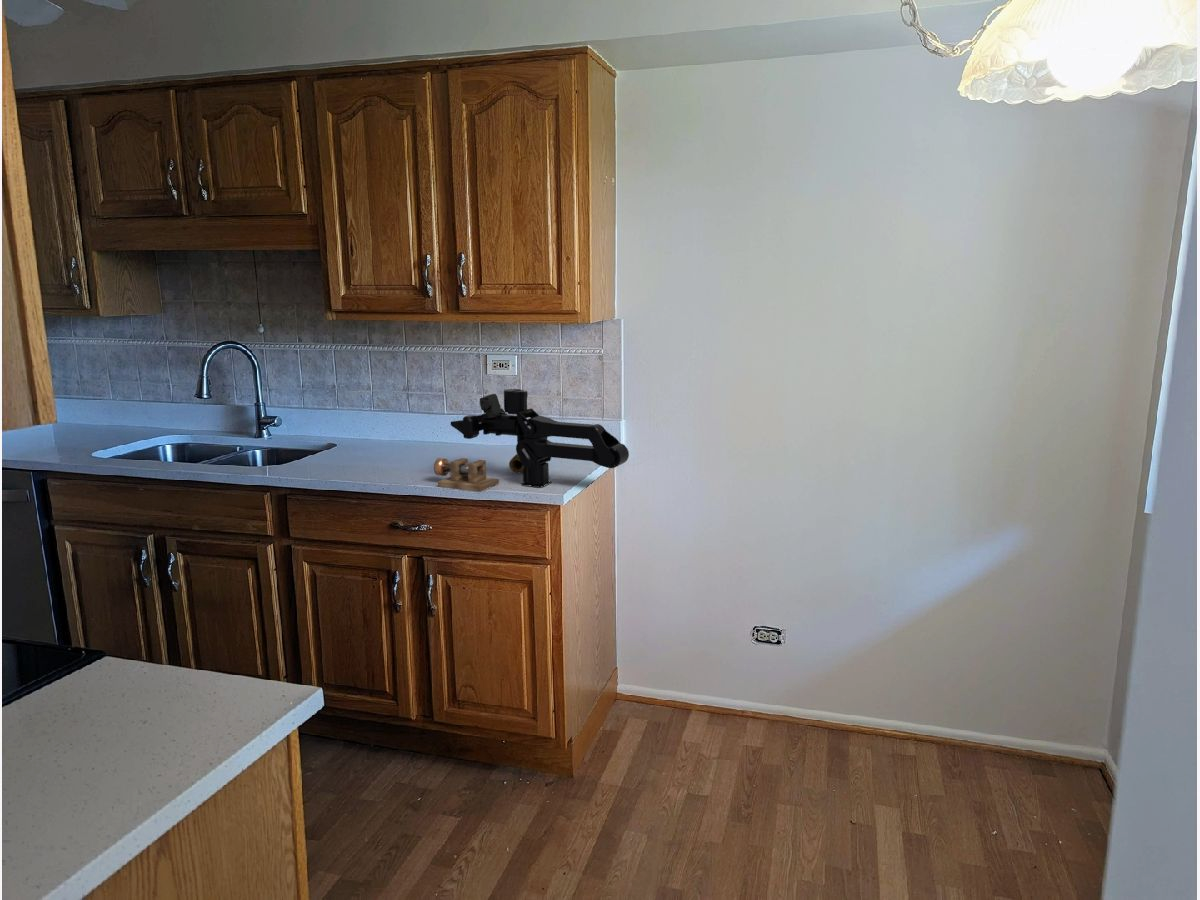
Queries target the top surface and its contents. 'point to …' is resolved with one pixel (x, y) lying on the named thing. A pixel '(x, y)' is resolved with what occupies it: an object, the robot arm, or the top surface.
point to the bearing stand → (468, 476)
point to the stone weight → (516, 464)
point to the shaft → (447, 467)
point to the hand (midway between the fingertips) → (459, 421)
